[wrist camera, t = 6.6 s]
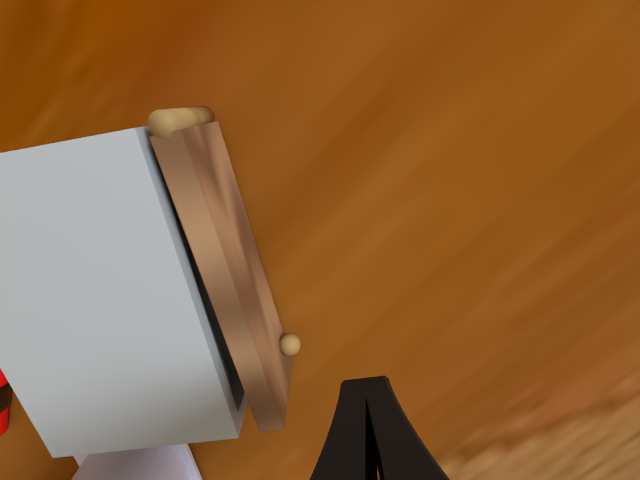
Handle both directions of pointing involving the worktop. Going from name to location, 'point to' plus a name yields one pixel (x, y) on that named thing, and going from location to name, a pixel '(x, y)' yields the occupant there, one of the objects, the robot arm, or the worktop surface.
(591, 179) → the worktop surface
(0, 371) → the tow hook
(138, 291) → the cabinet
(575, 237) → the worktop surface
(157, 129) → the door
